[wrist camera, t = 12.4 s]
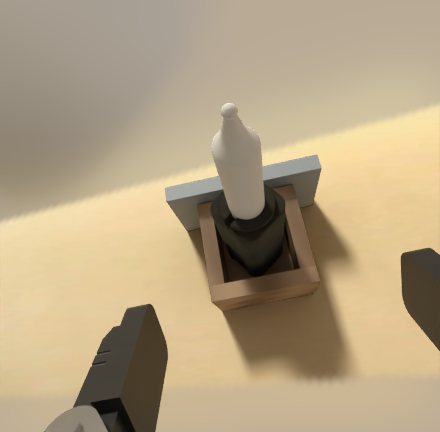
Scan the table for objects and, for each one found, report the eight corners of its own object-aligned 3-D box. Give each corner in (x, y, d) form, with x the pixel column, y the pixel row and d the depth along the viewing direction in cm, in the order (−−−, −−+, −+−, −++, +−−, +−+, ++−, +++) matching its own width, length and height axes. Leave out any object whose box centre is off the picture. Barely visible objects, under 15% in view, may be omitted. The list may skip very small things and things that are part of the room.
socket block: (222, 311, 39) (211, 301, 33) (208, 227, 44) (197, 204, 37) (312, 293, 39) (320, 280, 32) (290, 210, 43) (293, 184, 36)
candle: (287, 249, 39) (302, 97, 17) (257, 281, 39) (229, 169, 16) (253, 221, 41) (226, 51, 18) (224, 252, 40) (157, 113, 18)
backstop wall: (187, 230, 44) (166, 201, 36) (185, 219, 44) (165, 187, 36) (312, 204, 43) (321, 167, 34) (309, 193, 43) (317, 154, 35)
